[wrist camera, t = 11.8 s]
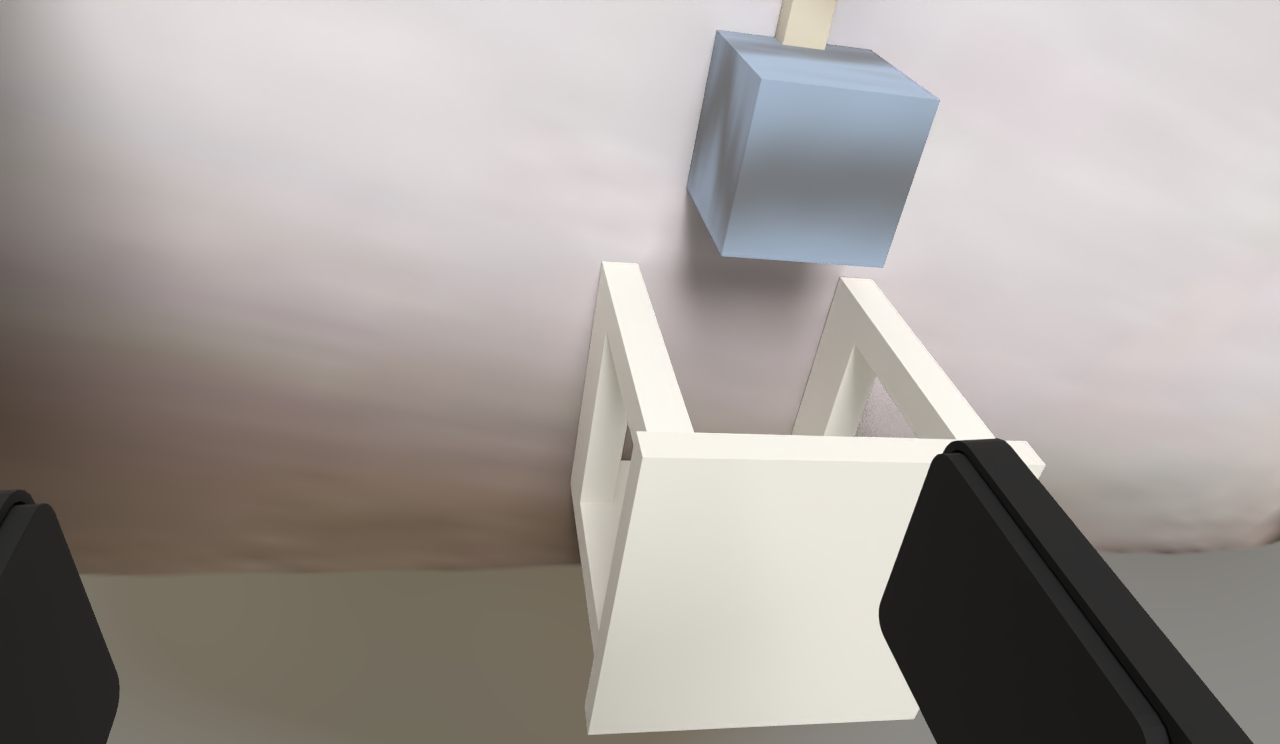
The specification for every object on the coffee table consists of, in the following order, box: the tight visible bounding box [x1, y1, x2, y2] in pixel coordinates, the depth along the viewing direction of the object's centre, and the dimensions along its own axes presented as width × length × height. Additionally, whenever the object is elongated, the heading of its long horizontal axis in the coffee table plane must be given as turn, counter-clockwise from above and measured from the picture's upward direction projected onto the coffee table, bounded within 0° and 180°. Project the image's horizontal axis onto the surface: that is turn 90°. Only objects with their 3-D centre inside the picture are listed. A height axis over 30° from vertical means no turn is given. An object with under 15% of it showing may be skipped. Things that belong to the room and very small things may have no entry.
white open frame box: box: [570, 261, 1045, 735], centre depth 35 cm, size 13×13×13 cm
